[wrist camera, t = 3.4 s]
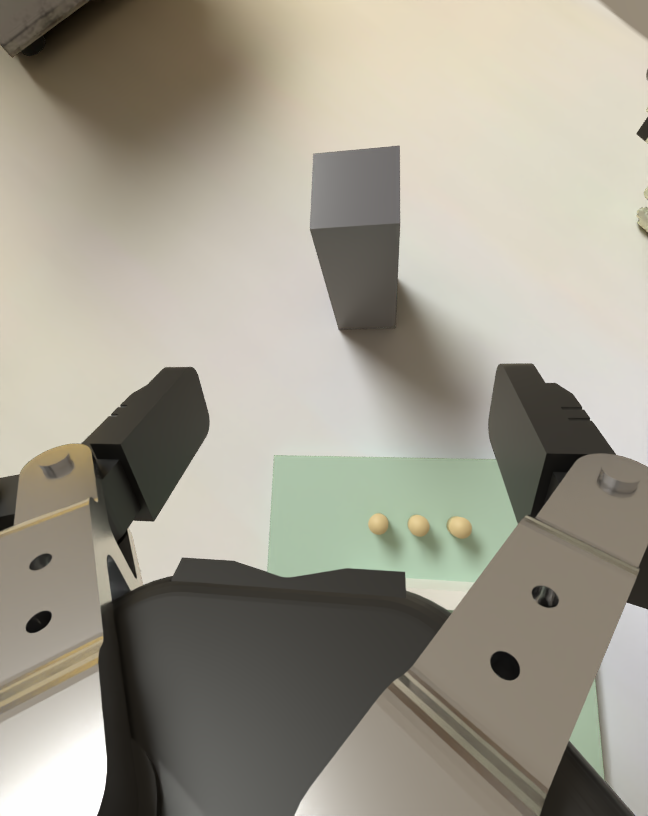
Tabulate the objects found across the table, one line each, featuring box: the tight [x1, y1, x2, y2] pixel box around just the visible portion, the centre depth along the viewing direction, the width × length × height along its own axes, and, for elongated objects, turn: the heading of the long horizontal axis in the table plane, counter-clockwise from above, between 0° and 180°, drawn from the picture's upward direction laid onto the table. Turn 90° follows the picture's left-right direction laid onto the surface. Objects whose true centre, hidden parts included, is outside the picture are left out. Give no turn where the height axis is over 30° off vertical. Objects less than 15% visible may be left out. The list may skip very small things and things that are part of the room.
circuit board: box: [267, 455, 605, 781], centre depth 20 cm, size 20×16×4 cm
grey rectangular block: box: [310, 146, 400, 329], centre depth 21 cm, size 4×4×10 cm
